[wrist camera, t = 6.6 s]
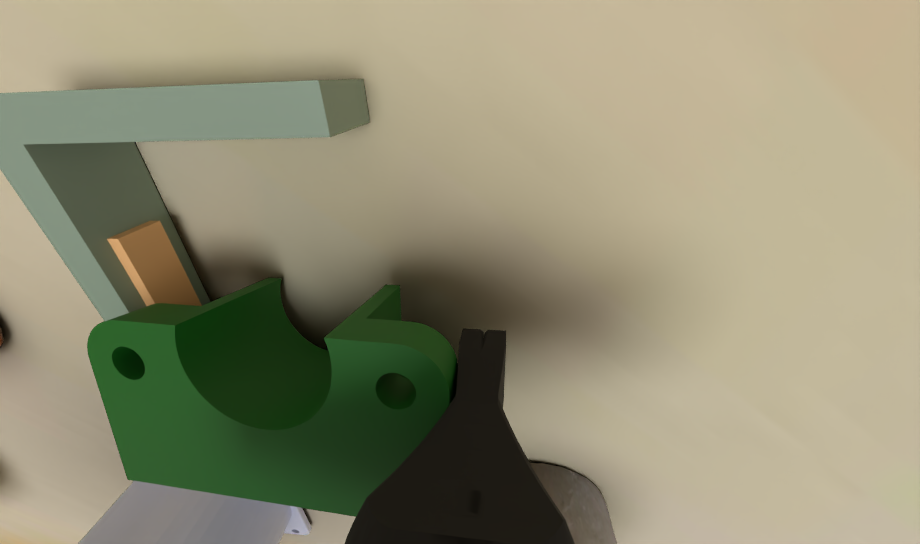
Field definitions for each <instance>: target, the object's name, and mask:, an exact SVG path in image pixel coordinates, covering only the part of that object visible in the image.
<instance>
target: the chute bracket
mask: <svg viewBox="0 0 920 544" xmlns="http://www.w3.org/2000/svg"><path fill="white" fill-rule="evenodd" d="M369 122H370V120H369V114H368V107H367V100H366V94H365V87H364V81H363V79H342V80H310V81H286V82H261V83H237V84H213V85H188V86H164V87H139V88H115V89H91V90H66V91H42V92H18V93H0V169H1V171H2V172H3V174H4V175H5V177H6V178H7V180H8V181H9V182H10V184H11V185H12V187H13V188H14V190H15V191H16V193H17V194H18V196H19V197H20V199H21V200H22V201H23V203H24V204H25V206H26V207H27V209H28V210H29V212H30V213H31V215H32V216H33V217H34V219H35V220H36V222H37V223H38V225H39V226H40V228H41V229H42V231H43V232H44V234H45V235H46V236H47V238H48V239H49V241H50V242H51V244H52V245H53V247H54V248H55V250H56V251H57V252H58V254H59V255H60V257H61V258H62V260H63V261H64V263H65V264H66V266H67V267H68V269H69V270H70V271H71V273H72V274H73V276H74V277H75V279H76V280H77V282H78V283H79V285H80V286H81V287H82V289H83V290H84V292H85V293H86V295H87V296H88V298H89V299H90V301H91V302H92V304H93V305H94V306H95V308H96V309H97V311H98V312H99V314H100V315H101V317H102V318H103V320H104V321H107V320H110V319H113V318H116V317H118V316H121V315H124V314H127V313H130V312H132V311H135V310H138V309H141V308H144V307H146V306H149V305H152V304H156V303H167V304H180V305H194V306H202V305H205V304H207V303H209V302H210V300H209V298H208V296H207V294H206V291H205V289H204V287H203V285H202V283H201V281H200V279H199V277H198V275H197V273H196V271H195V268H194V266H193V264H192V262H191V260H190V258H189V256H188V254H187V252H186V250H185V248H184V245H183V243H182V241H181V239H180V237H179V235H178V233H177V231H176V229H175V227H174V225H173V222H172V220H171V218H170V216H169V214H168V212H167V210H166V208H165V206H164V204H163V201H162V199H161V197H160V195H159V193H158V191H157V189H156V187H155V185H154V183H153V181H152V178H151V176H150V174H149V172H148V170H147V168H146V166H145V164H144V162H143V160H142V158H141V155H140V153H139V151H138V149H137V147H136V145H135V143H134V142H148V141H189V140H231V139H272V138H314V137H332V136H335V135H337V134H340V133H343V132H345V131H348V130H351V129H353V128H356V127H359V126H361V125H364V124H367V123H369ZM224 496H226V495H224Z"/></svg>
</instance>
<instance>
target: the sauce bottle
mask: <svg viewBox="0 0 920 544" xmlns="http://www.w3.org/2000/svg"><path fill="white" fill-rule="evenodd" d="M3 340H4V339H3V335H2V330H1V327H0V347H1V345H2V343H3Z"/></svg>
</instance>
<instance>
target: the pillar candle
mask: <svg viewBox="0 0 920 544" xmlns="http://www.w3.org/2000/svg"><path fill="white" fill-rule="evenodd" d="M530 464H531V466H532V468H533V470H534V471H535V473H536V475H537V476H538V478H539V480H540V481H541V483H542V485H543V486H544V488H545V489H546V491H547V492H548V494H549V495H550V497H551V499H552V500H553V502H554V503H555V505H556V506H557V508H558V509H559V510H560V512H561V513H562V515H563V516H564V518H565V520H566V522H567V525H568V528H569V530H570V533H571V535H572V538H573V540H574V543H575V544H617V542H616V538H615V535H614V531H613V527H612V524H611V520H610V516H609V512H608V509H607V506H606V503H605V501H604V498H603V496H602V494H601V492H600V491H599V490H598V488H597V487H596V486H595V485H594V484H593V483H592V482H590V481H589V480H588V479H587V478H585V477H583V476H581V475H580V474H578V473H575V472H572V471H570V470H568V469H566V468H563V467H560V466H553V465H549V464H544V463H539V464H537V463H530Z"/></svg>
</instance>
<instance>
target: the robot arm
mask: <svg viewBox="0 0 920 544" xmlns="http://www.w3.org/2000/svg"><path fill="white" fill-rule="evenodd" d="M505 354H506V331H498V330H488V331H486V332H485V334H484V332H483V331H482V330H478V329H463V331H462V335H461V339H460V343H459V357H458V373H457V389H456V396H455V397H454V399H453V400H452V402H451V403H450V405H449V406H448V408H447V409H446V411H445V412H444V414H443V415H442V416H441V418H440V419H439V420H438V422H437V423H436V424H435V426H434V427H433V428H432V429H431V431H430V432H429V433H428V434H427V436H426V437H425V438H424V439H423V440H422V442H421V443H420V444H419V445H418V446H417V447H416V448H415V449H414V451H413V452H412V453H411V454H410V455H409V456H408V457H407V458H406V459H405V460H404V461H403V463H402V464H401V465H400V466H399V467H398V468H397V469H396V470H395V471H394V472H393V473H392V474H391V475H390V476H389V477H388V478H387V479H386V480H384V481H383V482H382V483H381V484H380V485H379V486H378V487H377V488H376V489H375V490H374V491H373V492H372V493H371V494H370V495H369V496H368V497H367V498H366V500H365V501H364V503H363V505H362V507H361V509H360V510H359V512H358V514H357V516H356V518H355V520H354V522H353V525H352V527H351V529H350V531H349V534H348V536H347V539H346V542H345V544H575V543H574V540H573V538H572V535H571V533H570V530H569V528H568V525H567V522H566V520H565V518H564V516H563V515H562V513H561V512H560V510H559V509H558V508H557V506H556V505H555V503H554V502H553V500H552V499H551V497H550V495H549V494H548V492H547V491H546V489H545V488H544V486H543V485H542V483H541V481H540V480H539V478H538V476H537V475H536V473H535V471H534V470H533V468H532V466H531V464H530V463H529V461H528V459H527V457H526V455H525V454H524V452H523V450H522V448H521V446H520V444H519V443H518V441H517V439H516V437H515V435H514V433H513V430H512V428H511V426H510V424H509V422H508V420H507V418H506V415H505V413H504V411H503V400H504V377H505ZM310 531H311V525H310V523H309V521H308V519H307V517H306V515H305V513H304V511H303V509H302V508H300V507H294V506H288V505H282V504H275V503H269V502H263V501H257V500H251V499H245V498H238V497H232V496H224V495H220V494H214V493H207V492H201V491H195V490H189V489H183V488H177V487H170V486H164V485H158V484H152V483H146V482H140V481H133V482H132V484H131V485H130V486H129V487H128V488H127V489H126V490H125V491H124V492H123V494H122V495H121V496H120V497H119V498H118V499H117V500H116V501H115V503H114V504H113V505H112V506H111V507H110V508H109V509H108V510H107V511H106V513H105V514H104V515H103V516H102V517H101V518H100V519H99V520H98V522H97V523H96V524H95V525H94V526H93V527H92V528H91V529H90V531H89V532H88V533H87V534H86V535H85V536H84V537H83V538H82V539H81V541H80V542H79V543H78V544H279V542H280V540H281V538H282V536H283V534H284V533H288V534H299V535H308V534H309V533H310Z"/></svg>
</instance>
